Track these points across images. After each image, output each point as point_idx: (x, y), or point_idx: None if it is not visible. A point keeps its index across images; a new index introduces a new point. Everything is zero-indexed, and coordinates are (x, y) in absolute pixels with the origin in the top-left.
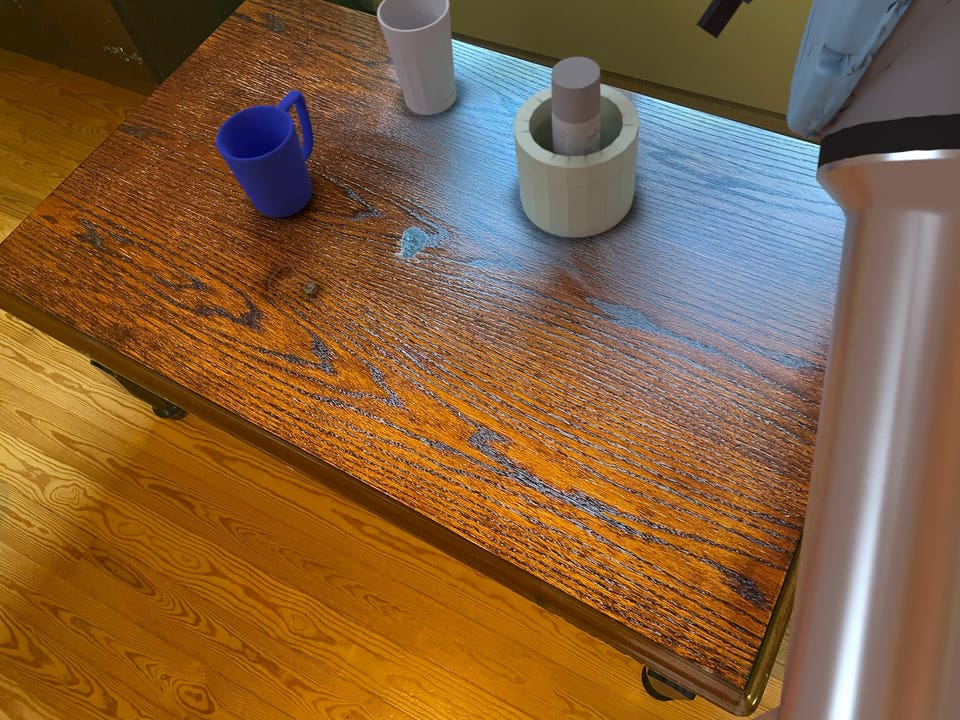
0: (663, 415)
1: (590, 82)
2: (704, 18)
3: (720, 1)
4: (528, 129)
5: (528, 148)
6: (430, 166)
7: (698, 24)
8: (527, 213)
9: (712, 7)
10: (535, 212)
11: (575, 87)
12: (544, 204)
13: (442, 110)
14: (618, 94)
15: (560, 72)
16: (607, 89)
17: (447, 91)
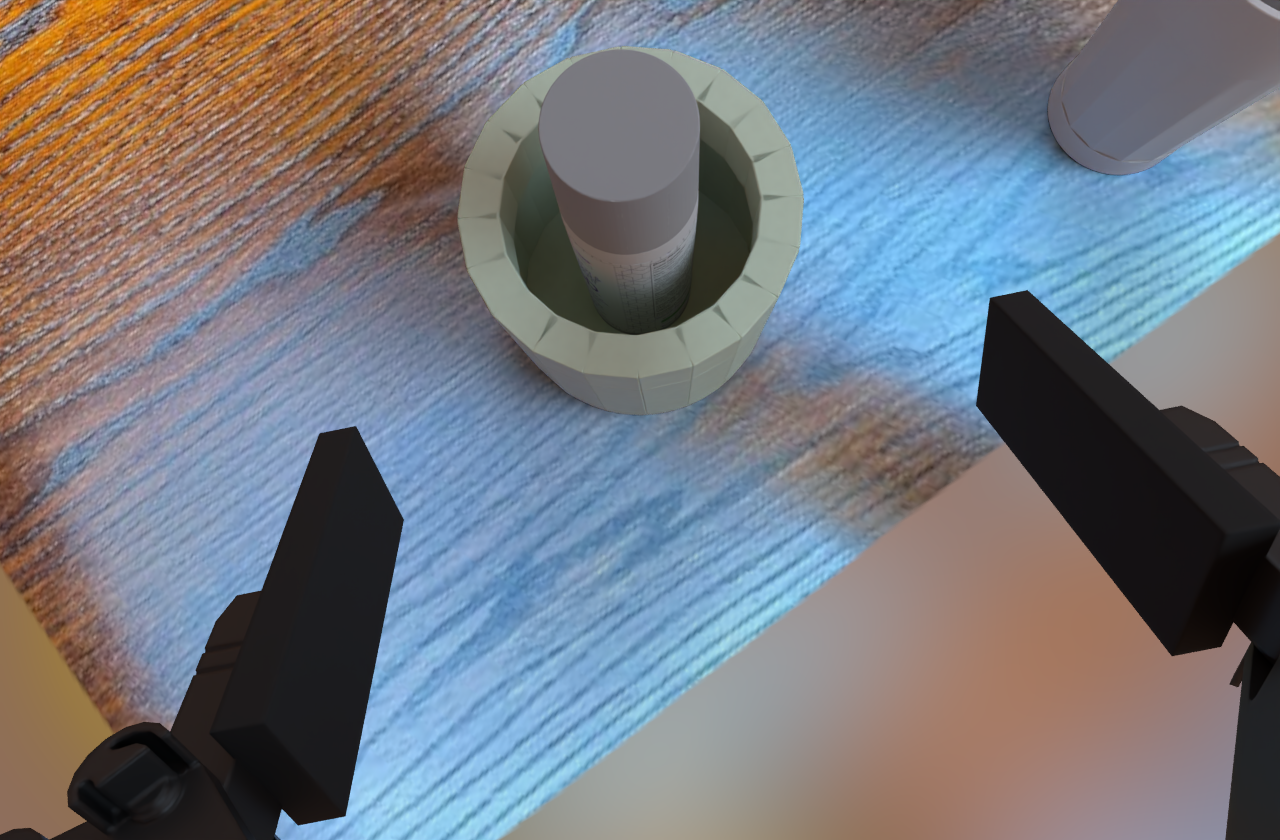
0: (94, 206)
1: (548, 144)
2: (331, 451)
3: (292, 517)
4: None
5: None
6: (880, 38)
7: (347, 432)
8: None
9: (315, 485)
10: None
11: (552, 94)
12: None
13: (1050, 118)
14: (674, 358)
15: (644, 83)
16: (710, 341)
17: (1081, 115)
